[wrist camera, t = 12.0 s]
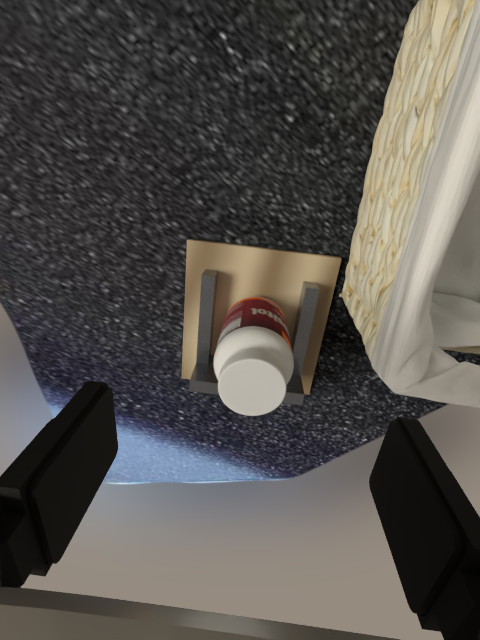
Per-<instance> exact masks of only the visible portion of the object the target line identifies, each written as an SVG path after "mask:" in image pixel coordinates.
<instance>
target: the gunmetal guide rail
mask: <svg viewBox="0 0 480 640" xmlns="http://www.w3.org/2000/svg"><path fill="white" fill-rule="evenodd" d="M217 276H218V271H217V270H208V269H205V270H204V272H203V273H202V276H201V292H200V308H199V325H198V341H197V357H196V365H195V367H194V370H193V373H192V376H191V378H190V388H189V391H194V392H202V393H210V394H218V395H219V392H218V379H217V377H216V375H215V371H214V364H213V362H214V354H211V349H212V337H213V325H214V313H215V301H216V289H217ZM319 290H320V289H319V287H318V285H317V283H315V282H307V281H303V285H302V290H301V295H300V300H299V305H298V310H297V315H296V321H295V326H294V331H293V336H292V341H291V348H292V354H293V361H294V368H293V373H292V376H291V379H290V381H289V382H288V384H287V385H286V387H287V388H286V394H285V397H284V399H283V401H282V402H281V403H289V404H296V405H302V403H303V399H304V390H303V385H302V380H301V372H302V368H303V363H304V358H305V354H306V349H307V345H308V340H309V336H310V331H311V327H312V322H313V318H314V313H315V309H316V304H317V300H318V295H319Z"/></svg>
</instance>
